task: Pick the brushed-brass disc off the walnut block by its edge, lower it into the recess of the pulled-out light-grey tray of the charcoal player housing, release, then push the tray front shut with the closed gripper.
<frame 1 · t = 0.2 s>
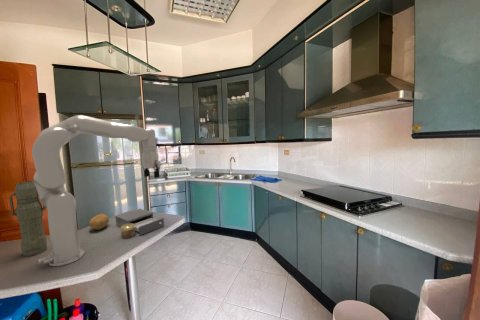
hand: (151, 177, 127), 31 cm above the countertop, tool pointing down, fingers open, 9 cm apart
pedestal: (128, 235, 116), on the countertop
thermos: (35, 251, 102), on the countertop
disc: (127, 228, 115), point 4 cm above the countertop, touching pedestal
housing: (135, 223, 133), on the countertop
tray: (145, 223, 125), point 3 cm above the countertop, slide at 11.0 cm
potato: (99, 228, 127), on the countertop
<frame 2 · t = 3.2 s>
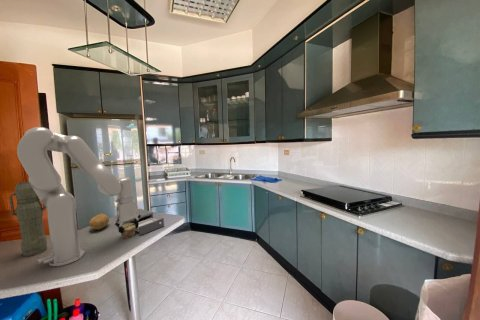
hand: (129, 229, 116), 3 cm above the countertop, tool pointing down, fingers open, 7 cm apart
disc: (128, 228, 116), point 4 cm above the countertop
tray: (145, 223, 125), point 3 cm above the countertop, slide at 11.0 cm, touching gripper
everything else where it was.
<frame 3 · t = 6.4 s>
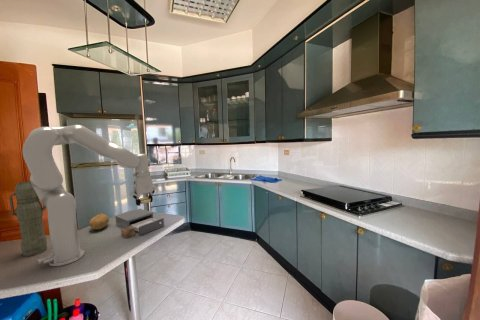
hand: (144, 203, 123), 16 cm above the countertop, tool pointing down, fingers closed on disc, 7 cm apart
disc: (144, 201, 123), point 16 cm above the countertop, touching gripper
tray: (145, 223, 125), point 3 cm above the countertop, slide at 11.0 cm
everything else where it was.
when the fingers open (3 cm above the countertop, at t = 9.5 s): disc drops 1 cm, resting on tray.
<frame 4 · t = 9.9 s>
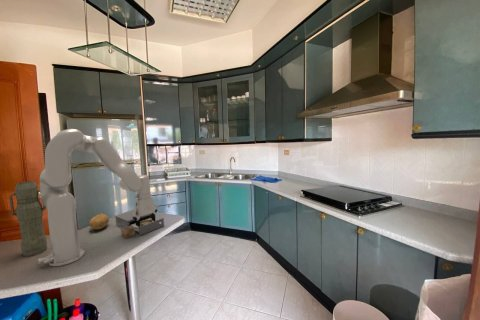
hand: (146, 223, 124), 3 cm above the countertop, tool pointing down, fingers open, 9 cm apart
disc: (146, 224, 125), point 2 cm above the countertop, touching tray
tray: (145, 223, 125), point 3 cm above the countertop, slide at 11.0 cm, touching disc
everything else where it was.
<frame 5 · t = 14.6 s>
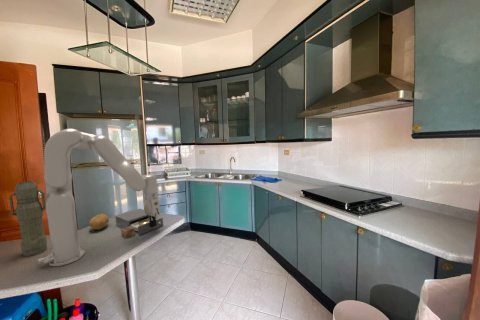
hand: (153, 226, 120), 3 cm above the countertop, tool pointing down, fingers closed
tray: (144, 223, 126), point 3 cm above the countertop, slide at 10.0 cm, touching disc, gripper
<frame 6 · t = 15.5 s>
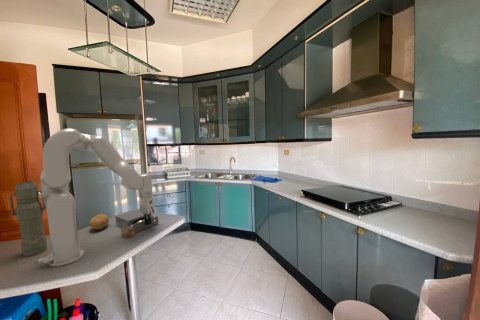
hand: (148, 224, 123), 3 cm above the countertop, tool pointing down, fingers closed
disc: (140, 222, 128), point 2 cm above the countertop, touching tray
tray: (139, 221, 129), point 3 cm above the countertop, slide at 4.7 cm, touching disc, gripper
everything else where it was.
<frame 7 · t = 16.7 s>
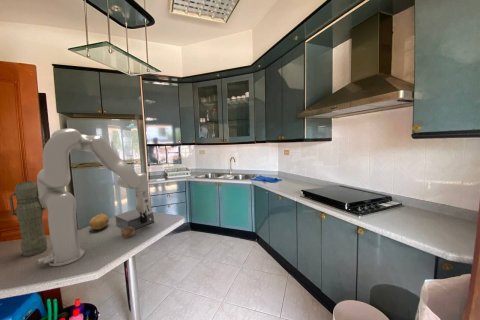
hand: (143, 222, 126), 3 cm above the countertop, tool pointing down, fingers closed
disc: (136, 221, 131), point 2 cm above the countertop, touching tray
tray: (136, 220, 131), point 3 cm above the countertop, slide at -0.1 cm, touching disc, gripper
everything else where it was.
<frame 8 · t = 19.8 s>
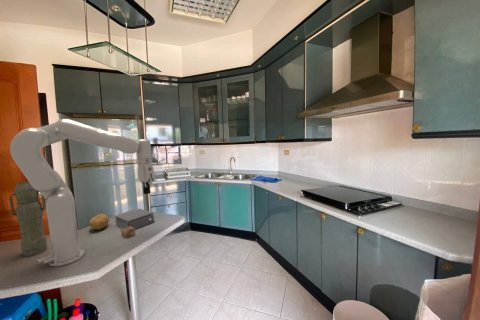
hand: (147, 193, 116), 23 cm above the countertop, tool pointing down, fingers closed
tray: (136, 220, 131), point 3 cm above the countertop, slide at 0.0 cm, touching disc
everything else where it was.
at the end: tray slide at 0.0 cm; disc inside the target area on the housing (0.1 cm from its centre), point 2.0 cm above the housing's base; the gripper is holding nothing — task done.
